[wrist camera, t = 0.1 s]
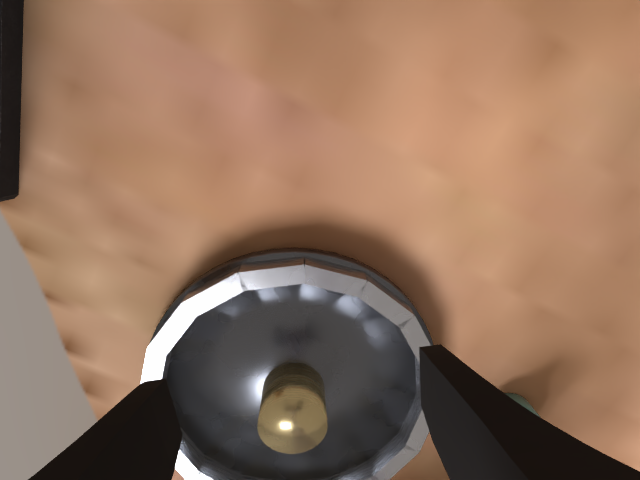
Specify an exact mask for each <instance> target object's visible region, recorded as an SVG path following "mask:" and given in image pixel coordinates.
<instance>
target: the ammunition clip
mask: <svg viewBox="0 0 640 480" xmlns="http://www.w3.org/2000/svg"><path fill="white" fill-rule="evenodd" d="M23 7H24V0H0V202H1V201H5V200H10V199H14V198H15V197H17V195H18V189H19V152H20V116H21V80H22V43H23Z"/></svg>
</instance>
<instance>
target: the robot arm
mask: <svg viewBox="0 0 640 480" xmlns="http://www.w3.org/2000/svg"><path fill="white" fill-rule="evenodd" d="M419 358H420V390H421V407H422V410H423V413H424V416H425V419H426V423H427V426H428V429H429V432H430V435H431V437H432V440H433V443H434V445H435V447H436V450H437V452H438V454H439V456H440V458H441V461H442V463H443V465H444V467H445V469H446V472H447V474H448V476H449V478H450V480H640V472H639V471H637V470H635V469H633V468H631V467H629V466H627V465H625V464H623V463H621V462H619V461H617V460H615V459H613V458H611V457H609V456H607V455H605V454H603V453H601V452H600V451H598V450H596V449H594V448H592V447H590V446H588V445H586V444H585V443H583V442H581V441H579V440H578V439H576V438H574V437H572V436H571V435H569V434H567V433H565V432H564V431H562V430H560V429H558V428H557V427H555V426H553V425H552V424H550V423H548V422H547V421H545V420H543V419H542V418H540V417H539V416H537V415H536V414H534V413H533V412H531V411H530V410H528V409H527V408H525V407H523V406H522V405H520V404H519V403H517V402H516V401H514V400H513V399H512V398H510V397H509V396H507V395H506V394H504V393H503V392H502V391H500V390H499V389H497V388H496V387H495V386H493V385H492V384H491V383H489V382H488V381H487V380H485V379H484V378H483V377H481V376H480V375H479V374H477V373H476V372H475V371H474V370H472V369H471V368H470V367H468V366H467V365H466V364H465V363H463V362H462V361H461V360H460V359H458V358H457V357H456V356H455V355H453V354H452V353H451V352H450V351H448V350H447V349H446V348H445V347H443V346H442V345H441V344H440V345H432V346H424V347H419ZM182 436H183V435H182V431H181V428H180V425H179V421H178V418H177V414H176V411H175V408H174V404H173V401H172V397H171V394H170V391H169V387H168V384H167V380H166V378H165V379H157V380H149V381H144V382H143V383H141V384H140V385H139V386H138V387H136V388H135V389H134V390H133V391H132V392H130V393H129V394H128V395H127V396H126V397H125V398H124V399H122V400H121V401H120V402H119V403H118V404H117V405H116V406H115V407H113V408H112V409H111V410H110V411H109V412H108V413H107V414H106V415H104V416H103V417H102V418H101V419H100V420H99V421H98V422H96V423H95V424H94V425H93V426H92V427H91V428H90V429H89V430H87V431H86V432H85V433H84V434H83V435H82V436H81V437H79V438H78V439H77V440H76V441H75V442H74V443H72V444H71V445H70V446H69V447H67V448H66V449H65V450H64V451H63V452H61V453H60V454H59V455H58V456H57V457H55V458H54V459H53V460H52V461H51V462H49V463H48V464H47V465H46V466H45V467H44V468H42V469H41V470H40V471H39V472H37V473H36V474H35V475H34V476H32V477H31V478H30V479H28V480H171V479H172V476H173V473H174V469H175V465H176V461H177V458H178V453H179V449H180V444H181V440H182Z"/></svg>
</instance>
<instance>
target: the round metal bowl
mask: <svg viewBox="0 0 640 480" xmlns="http://www.w3.org/2000/svg"><path fill="white" fill-rule="evenodd" d="M432 345H433V342H432V339H431V336H430V334H429V332H428V329H427V327H426V325H425V323H424V321H423V320H422V318H421V316H420V315H419V313H418V312H417V310H416V308H415V307H414V305H413V304H412V302H411V301H410V300H409V299H408V298H407V296H406V295H405V294H404V293H403V292H402V291H401V290H400V289H399V288H398V287H397V286H396V285H395V284H394V283H392V282H391V281H390V280H389V279H388V278H386V277H385V276H383V275H382V274H380V273H379V272H377V271H376V270H374V269H373V268H371V267H369V266H367V265H365V264H363V263H361V262H359V261H357V260H354V259H352V258H349V257H346V256H342V255H339V254H336V253H332V252H327V251H322V250H317V249H305V248H281V249H270V250H265V251H259V252H254V253H250V254H247V255H244V256H241V257H237V258H234V259H232V260H230V261H227V262H225V263H223V264H221V265H219V266H217V267H215V268H213V269H211V270H210V271H208V272H207V273H205V274H204V275H202V276H200V277H199V278H198V279H196V280H195V281H194V282H193V283H192V284H191V285H189V286H188V287H187V288H186V289H185V290H184V291H183V292H182V293H181V294H180V295H179V296H178V297H177V299H176V300H175V301H174V302H173V303H172V304H171V306H170V307H169V309H168V310H167V312H166V313H165V315H164V316H163V318H162V319H161V321H160V323H159V324H158V326H157V328H156V330H155V332H154V334H153V337H152V339H151V341H150V344H149V346H148V347H147V351H146V357H145V362H144V368H143V374H142V379H141V383H143V382H144V381H149V380H157V379H165V378H166V380H167V384H168V387H169V391H170V394H171V397H172V401H173V404H174V408H175V411H176V414H177V418H178V421H179V425H180V428H181V431H182V435H183V436H182V440H181V444H180V449H179V453H178V458H177V461H176V465H175V469H176V470H177V471H178V472H179V473H180V474H181V475H182V476H183V477H184V478H185V479H186V480H390V479H391V478H392V477H393V476H394V475H395V474H396V473H397V472H398V471H399V470H401V469H402V468H403V467H404V466H405V465H406V464H407V463H408V462H409V461H410V460H411V459H413V458H414V457H415V456H416V455H417V454H418V453H419V452H420V450H421V448H422V446H423V444H424V441H425V439H426V437H427V435H428V433H429V429H428V426H427V423H426V419H425V416H424V413H423V410H422V407H421V390H420V358H419V347H424V346H432Z"/></svg>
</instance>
